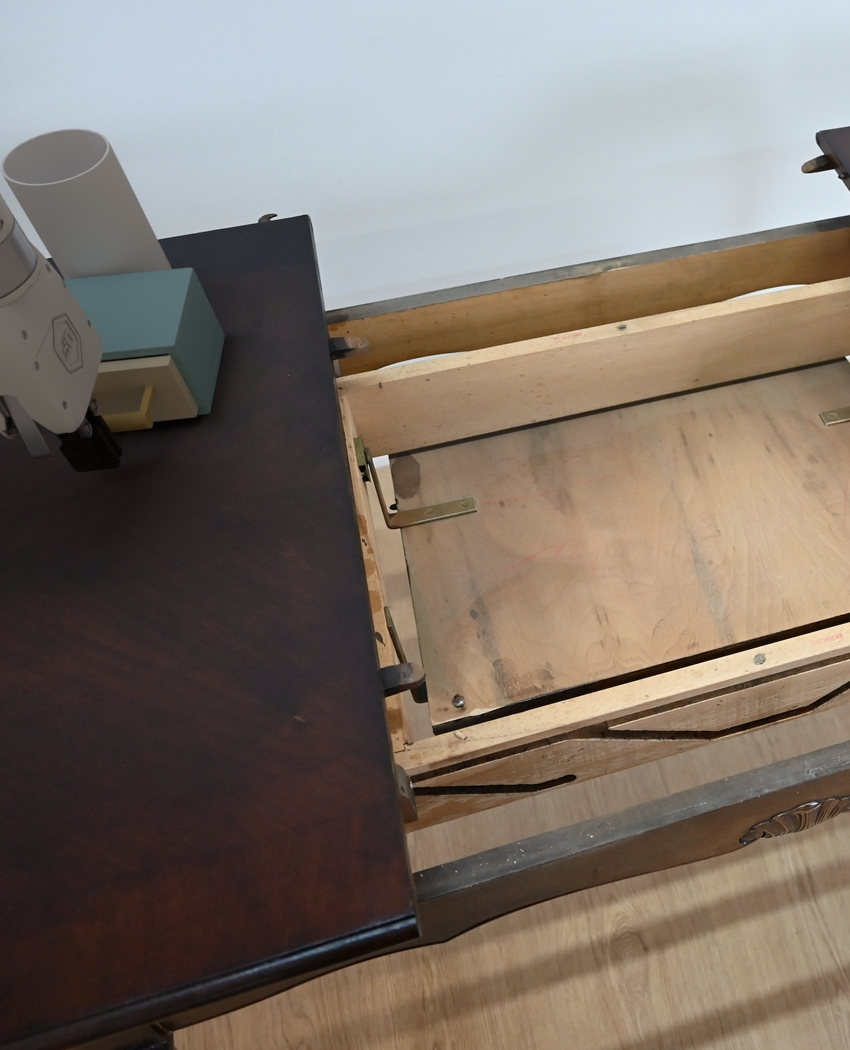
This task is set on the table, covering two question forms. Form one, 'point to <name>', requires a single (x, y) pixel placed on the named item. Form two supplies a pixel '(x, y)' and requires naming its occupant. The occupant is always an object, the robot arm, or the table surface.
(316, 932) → the table surface
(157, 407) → the drawer
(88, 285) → the cabinet
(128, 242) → the cup
